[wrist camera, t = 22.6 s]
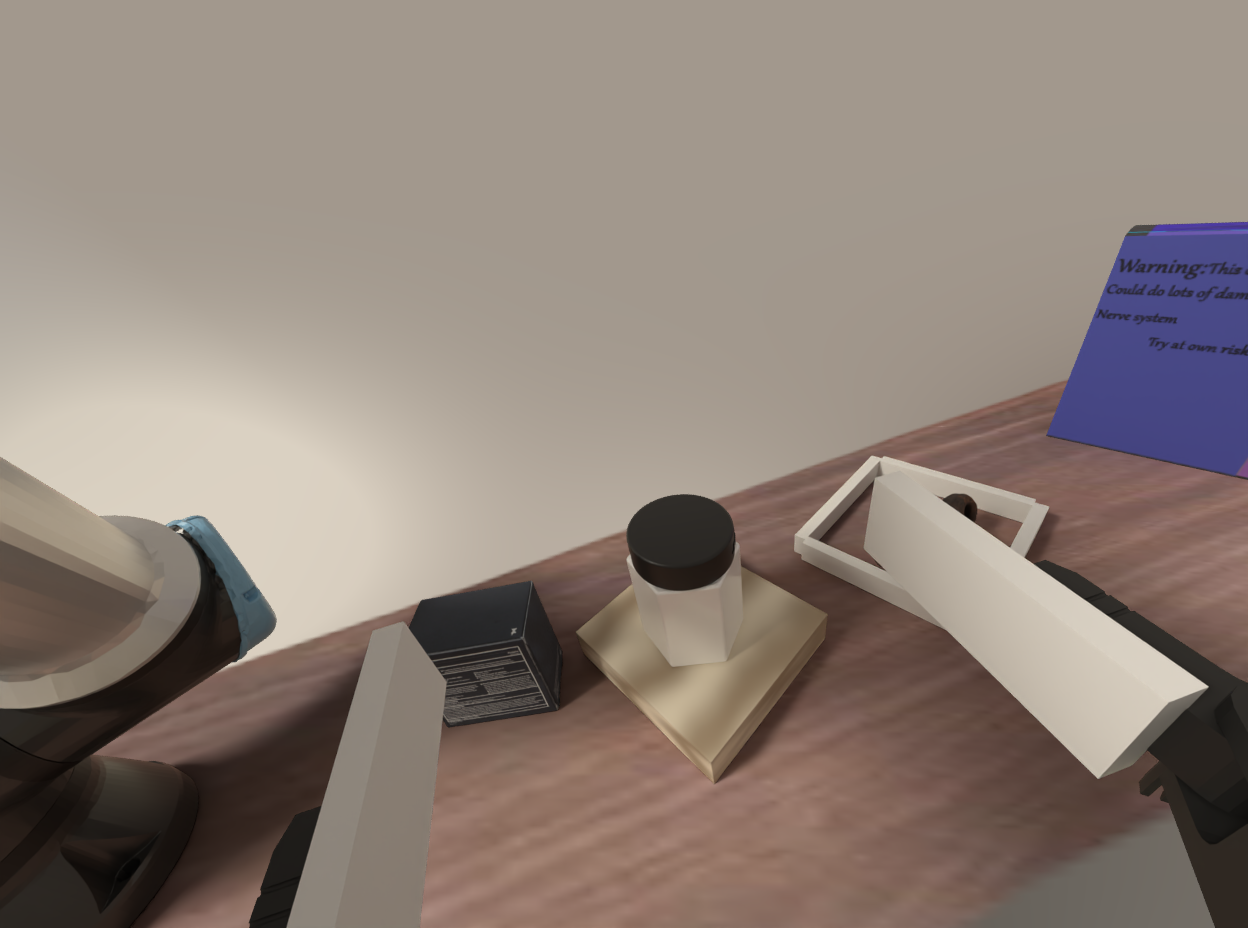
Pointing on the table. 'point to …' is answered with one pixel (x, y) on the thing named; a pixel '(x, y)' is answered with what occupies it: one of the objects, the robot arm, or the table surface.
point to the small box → (491, 653)
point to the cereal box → (1168, 352)
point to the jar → (686, 578)
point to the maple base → (709, 670)
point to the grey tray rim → (935, 483)
